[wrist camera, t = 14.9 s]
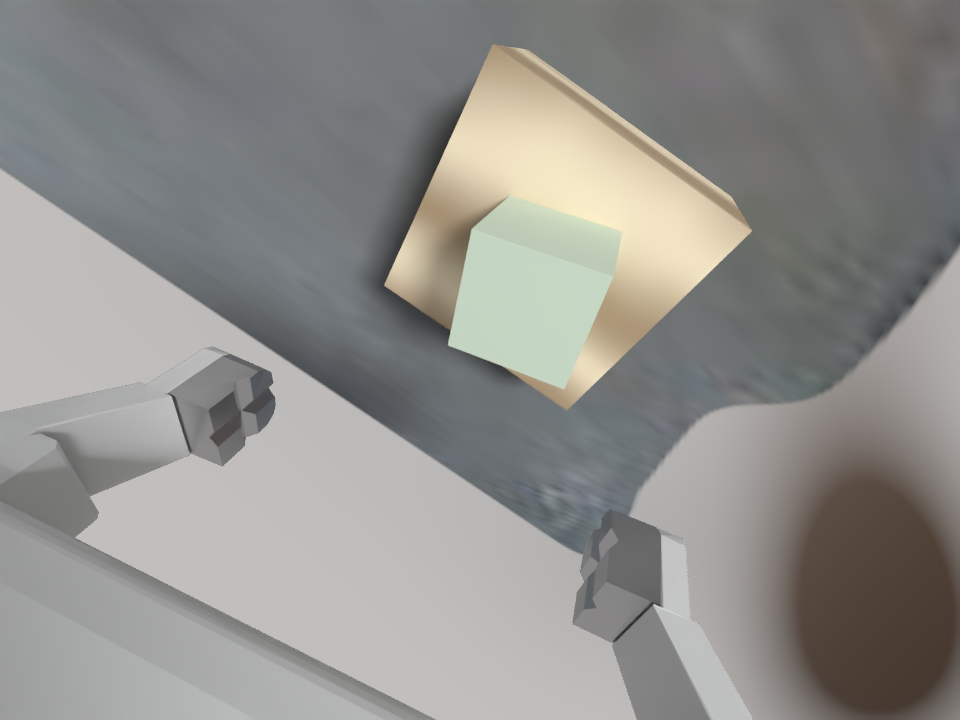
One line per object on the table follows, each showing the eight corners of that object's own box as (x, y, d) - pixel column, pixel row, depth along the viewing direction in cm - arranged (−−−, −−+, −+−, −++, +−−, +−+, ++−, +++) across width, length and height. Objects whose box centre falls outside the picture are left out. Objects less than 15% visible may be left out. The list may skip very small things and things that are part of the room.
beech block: (529, 50, 21) (492, 44, 16) (730, 195, 22) (752, 231, 17) (429, 249, 28) (384, 285, 24) (581, 354, 29) (567, 410, 24)
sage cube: (509, 195, 19) (471, 228, 15) (622, 231, 18) (613, 276, 14) (485, 295, 22) (447, 345, 18) (581, 329, 21) (564, 389, 17)
